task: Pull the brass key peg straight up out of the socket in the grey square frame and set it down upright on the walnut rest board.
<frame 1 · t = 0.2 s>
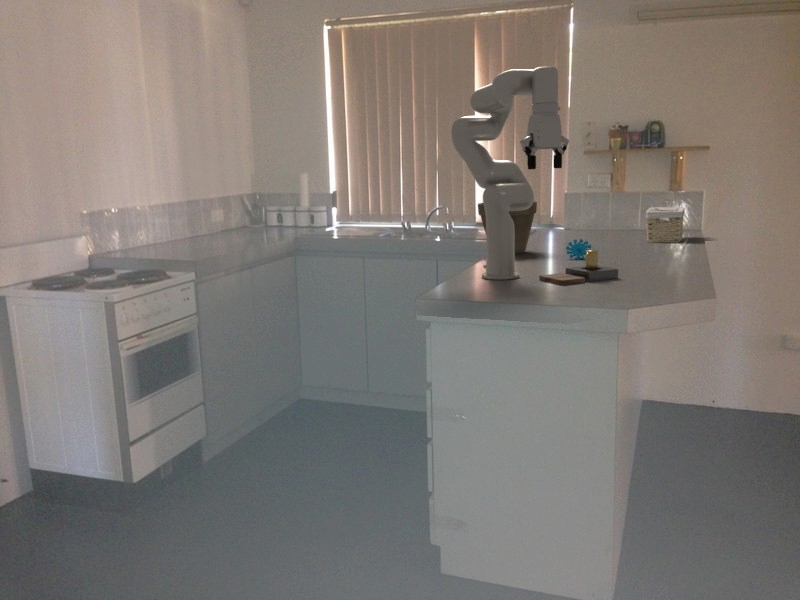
hand: (544, 168, 216), 36 cm above the countertop, tool pointing down, fingers open, 9 cm apart
key peg: (591, 264, 237), in the grey square frame
plant pot: (507, 252, 309), on the countertop
gear: (580, 259, 283), on the countertop
storage basket: (664, 240, 336), on the countertop
grey square frame: (591, 277, 238), on the countertop
rest board: (561, 281, 233), on the countertop
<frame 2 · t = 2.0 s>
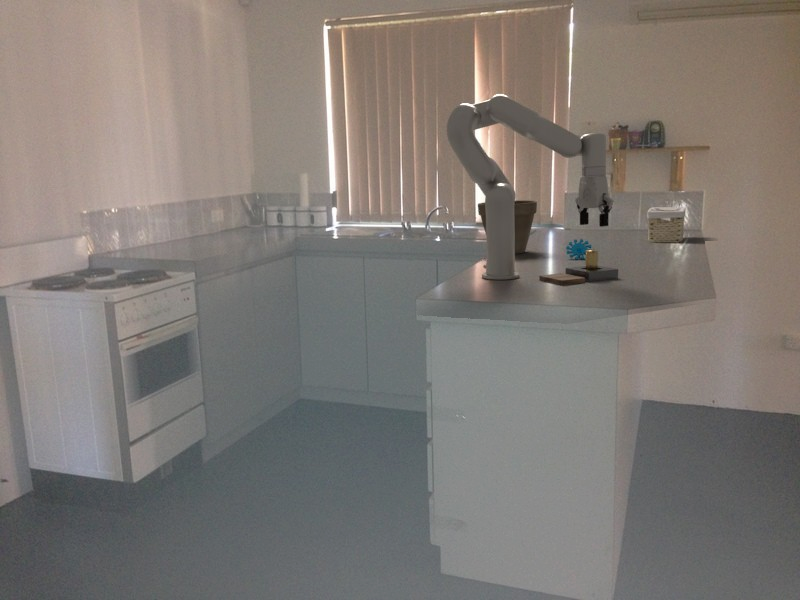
hand: (593, 225, 235), 17 cm above the countertop, tool pointing down, fingers open, 9 cm apart
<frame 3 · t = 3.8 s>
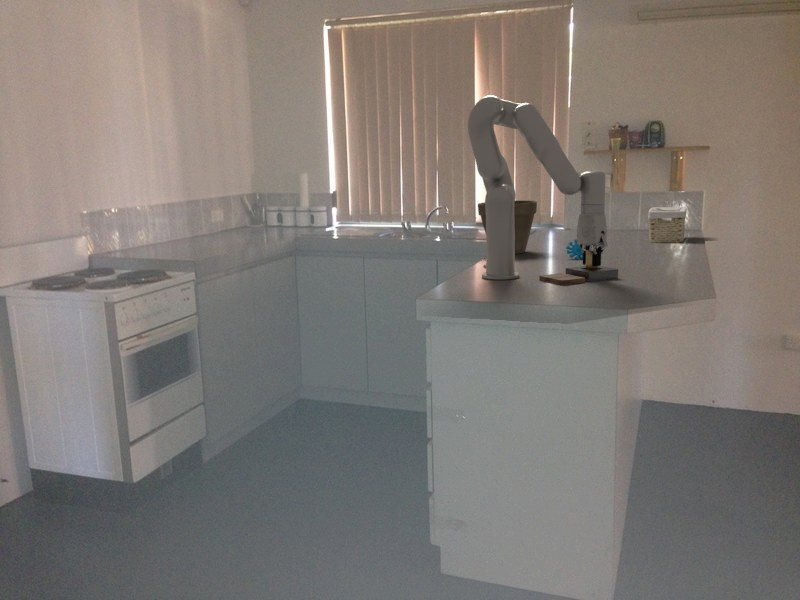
hand: (591, 264, 237), 4 cm above the countertop, tool pointing down, fingers closed on key peg, 4 cm apart
key peg: (591, 264, 237), in the grey square frame, touching gripper
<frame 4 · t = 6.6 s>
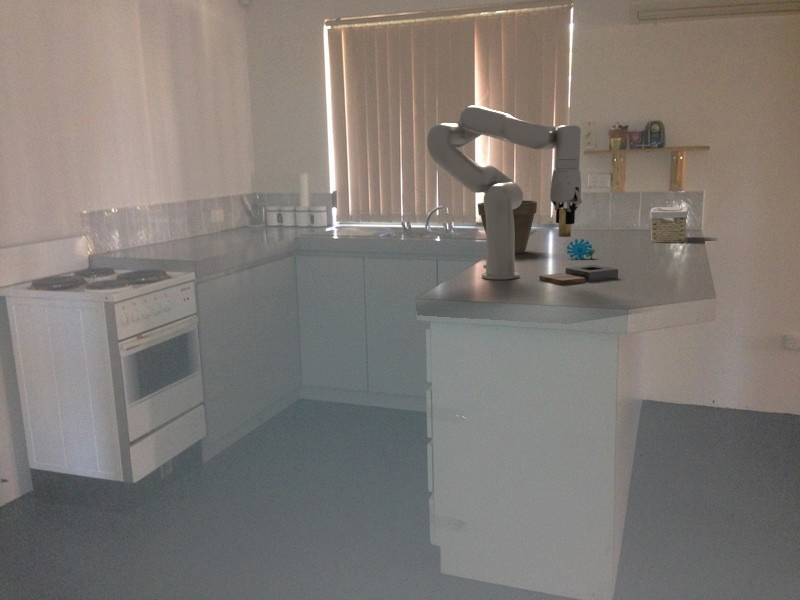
hand: (565, 222, 230), 19 cm above the countertop, tool pointing down, fingers closed on key peg, 4 cm apart
key peg: (565, 222, 230), point 19 cm above the countertop, touching gripper
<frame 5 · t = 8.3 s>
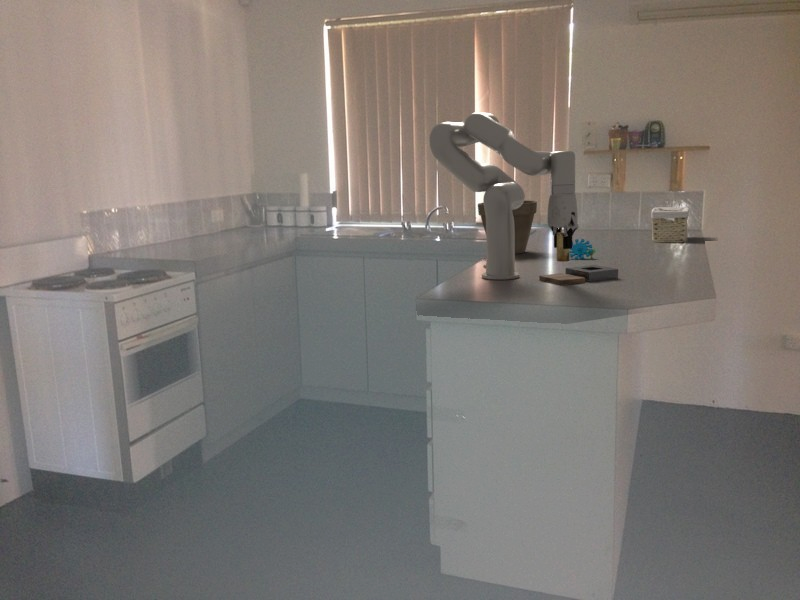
hand: (563, 247, 230), 11 cm above the countertop, tool pointing down, fingers closed on key peg, 4 cm apart
key peg: (563, 246, 230), point 11 cm above the countertop, touching gripper
when the fingers open (7 cm above the countertop, at t = 9.4 s): key peg drops 1 cm, resting on rest board.
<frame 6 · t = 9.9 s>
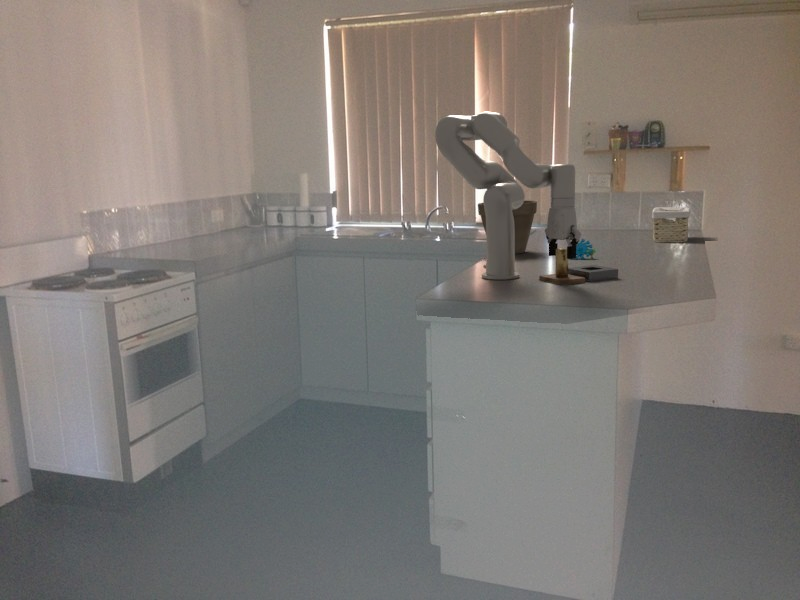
hand: (562, 257, 231), 8 cm above the countertop, tool pointing down, fingers open, 9 cm apart
key peg: (561, 262, 231), on the rest board, point 6 cm above the countertop
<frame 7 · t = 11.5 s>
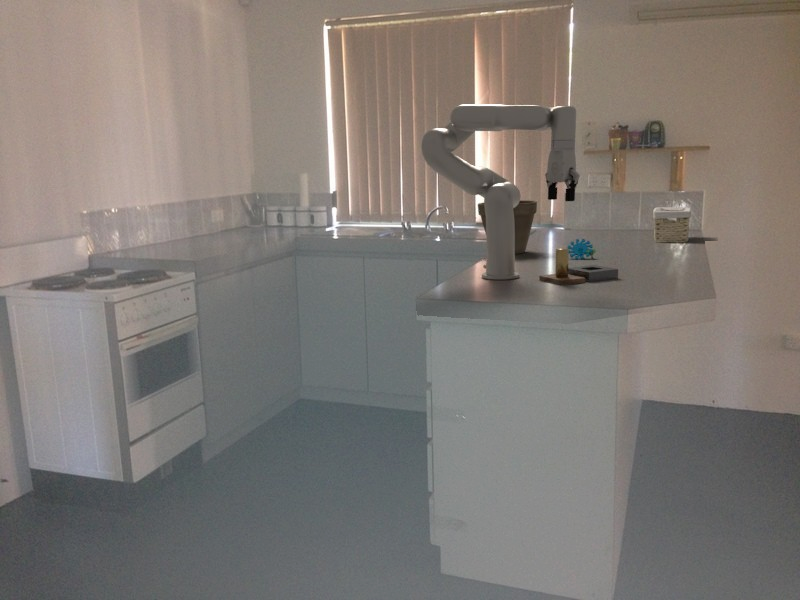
hand: (561, 200, 232), 26 cm above the countertop, tool pointing down, fingers open, 9 cm apart
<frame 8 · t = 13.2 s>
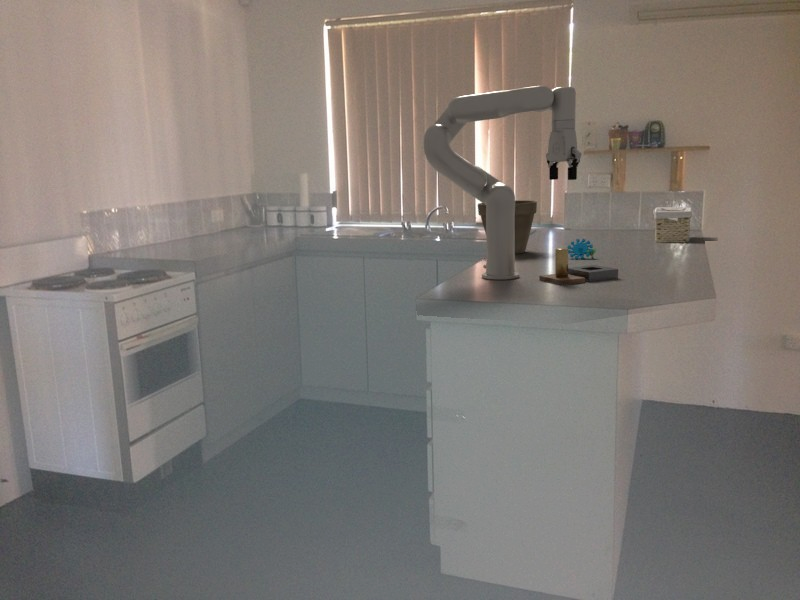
hand: (562, 179, 237), 32 cm above the countertop, tool pointing down, fingers open, 9 cm apart
at the end: key peg inside the target area on the rest board (0.0 cm from its centre), point 6.0 cm above the rest board's base; key peg tilted 1°; the gripper is holding nothing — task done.
